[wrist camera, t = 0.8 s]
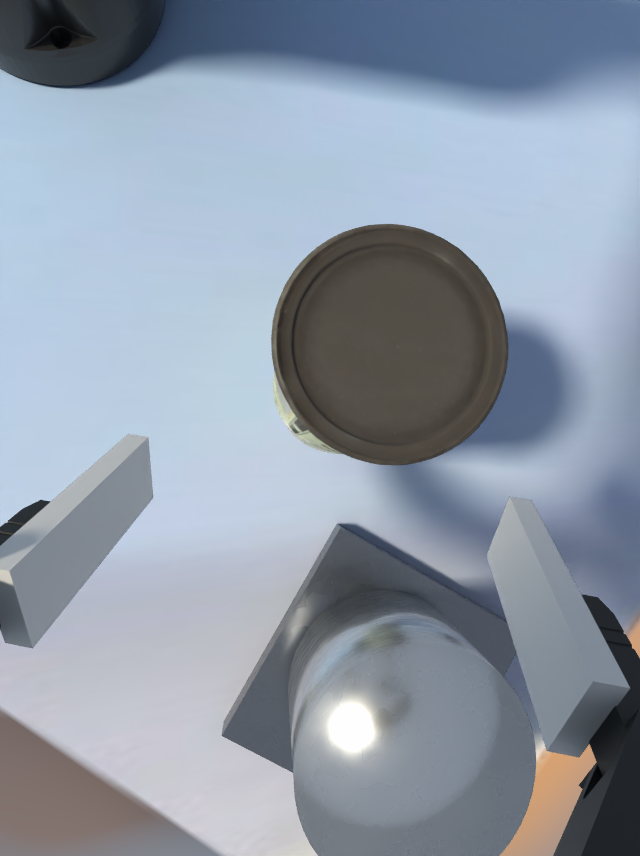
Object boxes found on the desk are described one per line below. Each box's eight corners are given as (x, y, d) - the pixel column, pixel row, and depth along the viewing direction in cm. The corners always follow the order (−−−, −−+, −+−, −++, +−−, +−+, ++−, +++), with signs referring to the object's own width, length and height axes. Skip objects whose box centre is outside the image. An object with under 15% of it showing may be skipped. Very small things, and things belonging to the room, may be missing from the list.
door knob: (337, 523, 32) (365, 559, 22) (514, 625, 33) (611, 700, 24) (224, 721, 30) (202, 848, 21) (412, 819, 32) (472, 979, 22)
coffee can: (393, 306, 33) (485, 207, 19) (419, 439, 33) (530, 440, 19) (259, 328, 31) (249, 239, 17) (285, 466, 31) (297, 488, 17)
